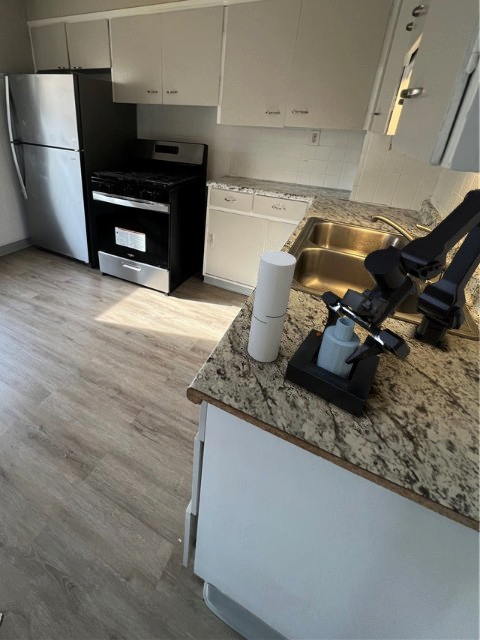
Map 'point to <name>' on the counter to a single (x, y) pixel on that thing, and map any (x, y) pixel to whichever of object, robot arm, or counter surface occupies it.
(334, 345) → the vase
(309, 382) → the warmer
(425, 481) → the counter surface
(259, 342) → the cylindrical container
